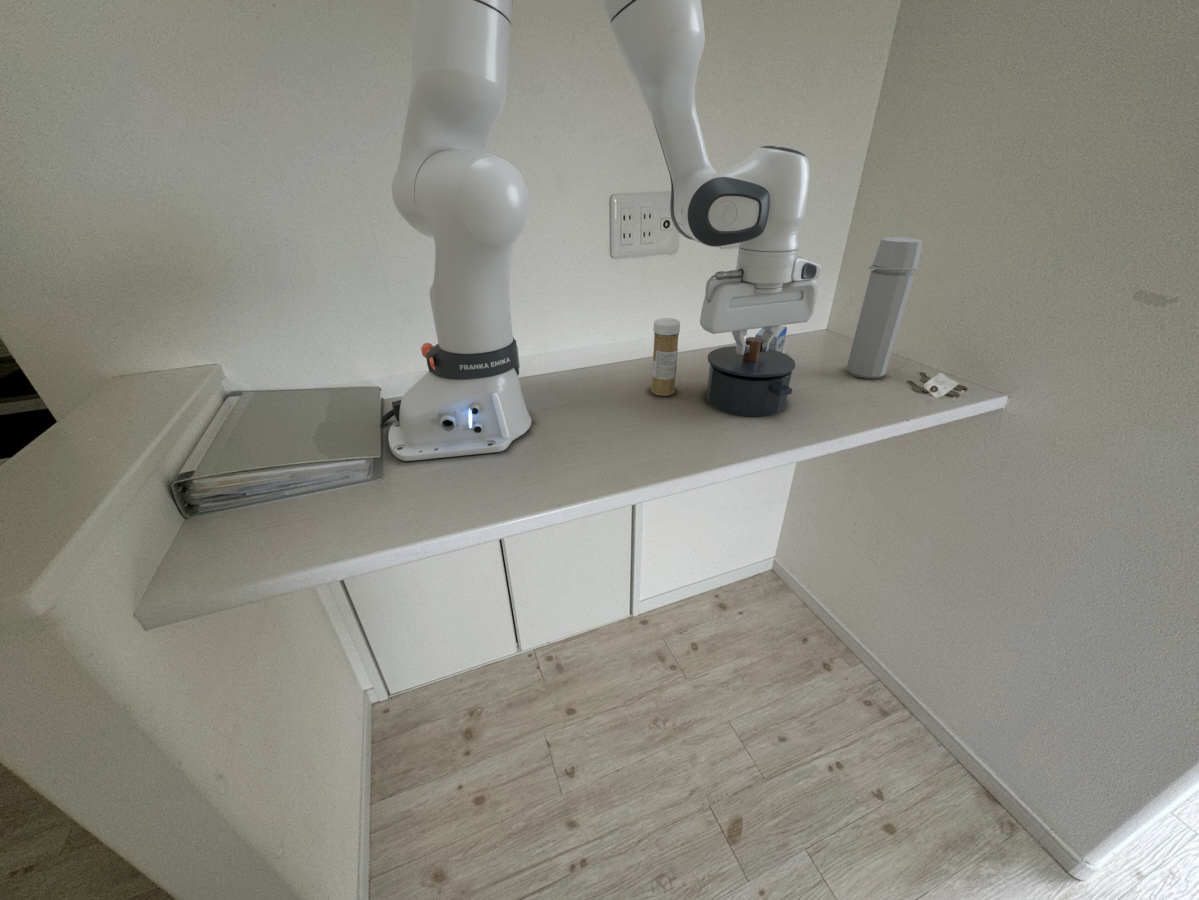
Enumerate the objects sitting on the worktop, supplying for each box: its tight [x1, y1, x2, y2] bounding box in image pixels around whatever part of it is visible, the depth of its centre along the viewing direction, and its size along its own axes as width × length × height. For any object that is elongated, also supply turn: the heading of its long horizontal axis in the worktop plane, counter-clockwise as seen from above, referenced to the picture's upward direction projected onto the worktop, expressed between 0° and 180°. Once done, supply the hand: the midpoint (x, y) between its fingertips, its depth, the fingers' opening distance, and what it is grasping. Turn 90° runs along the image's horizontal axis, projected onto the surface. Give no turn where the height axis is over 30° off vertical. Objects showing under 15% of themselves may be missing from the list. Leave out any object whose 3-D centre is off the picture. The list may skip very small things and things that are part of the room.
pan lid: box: [706, 336, 796, 377], centre depth 85 cm, size 15×15×5 cm
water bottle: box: [846, 236, 924, 380], centre depth 94 cm, size 9×8×25 cm
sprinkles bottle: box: [650, 317, 681, 397], centre depth 89 cm, size 5×5×13 cm
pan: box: [706, 364, 793, 418], centre depth 88 cm, size 14×19×6 cm
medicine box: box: [754, 325, 788, 353], centre depth 99 cm, size 8×4×9 cm, turn 150°
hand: (751, 352), depth 85 cm, fingers closed on pan lid, 2 cm apart
